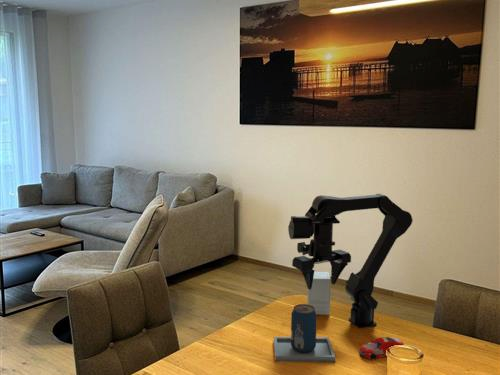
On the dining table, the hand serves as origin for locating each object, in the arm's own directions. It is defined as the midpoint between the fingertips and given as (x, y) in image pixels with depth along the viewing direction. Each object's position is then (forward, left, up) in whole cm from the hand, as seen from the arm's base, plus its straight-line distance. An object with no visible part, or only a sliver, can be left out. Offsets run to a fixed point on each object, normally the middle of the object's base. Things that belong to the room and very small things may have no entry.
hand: (321, 286), depth 142 cm
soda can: (+12, +12, -13) cm, 21 cm away
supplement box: (-5, -11, -13) cm, 18 cm away
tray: (+12, +13, -13) cm, 22 cm away
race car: (-8, +20, -14) cm, 26 cm away
